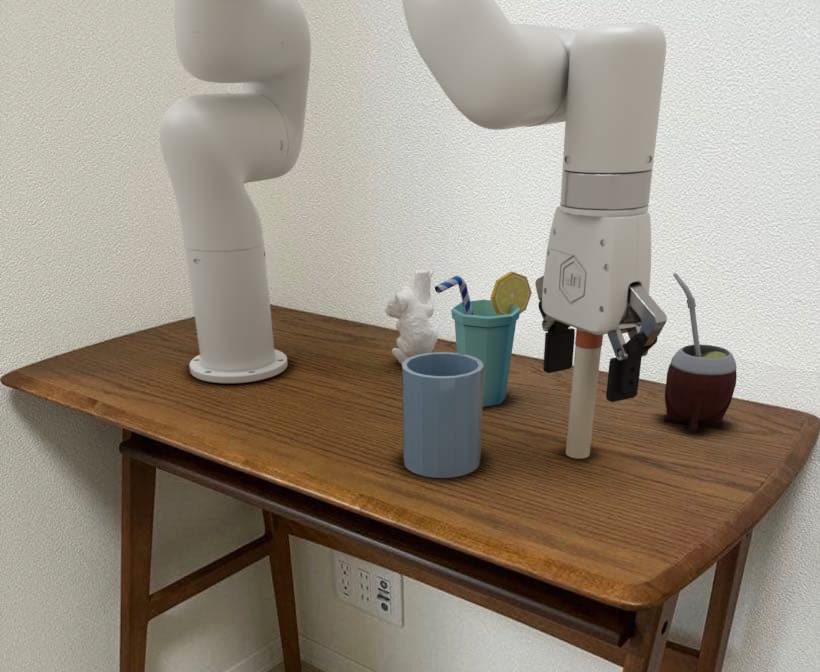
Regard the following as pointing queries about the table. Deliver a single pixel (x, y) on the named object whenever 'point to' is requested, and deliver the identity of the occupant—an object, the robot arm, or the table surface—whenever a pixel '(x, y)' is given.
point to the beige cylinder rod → (583, 393)
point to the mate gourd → (699, 380)
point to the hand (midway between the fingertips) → (587, 383)
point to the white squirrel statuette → (413, 317)
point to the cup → (490, 328)
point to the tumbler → (442, 414)
